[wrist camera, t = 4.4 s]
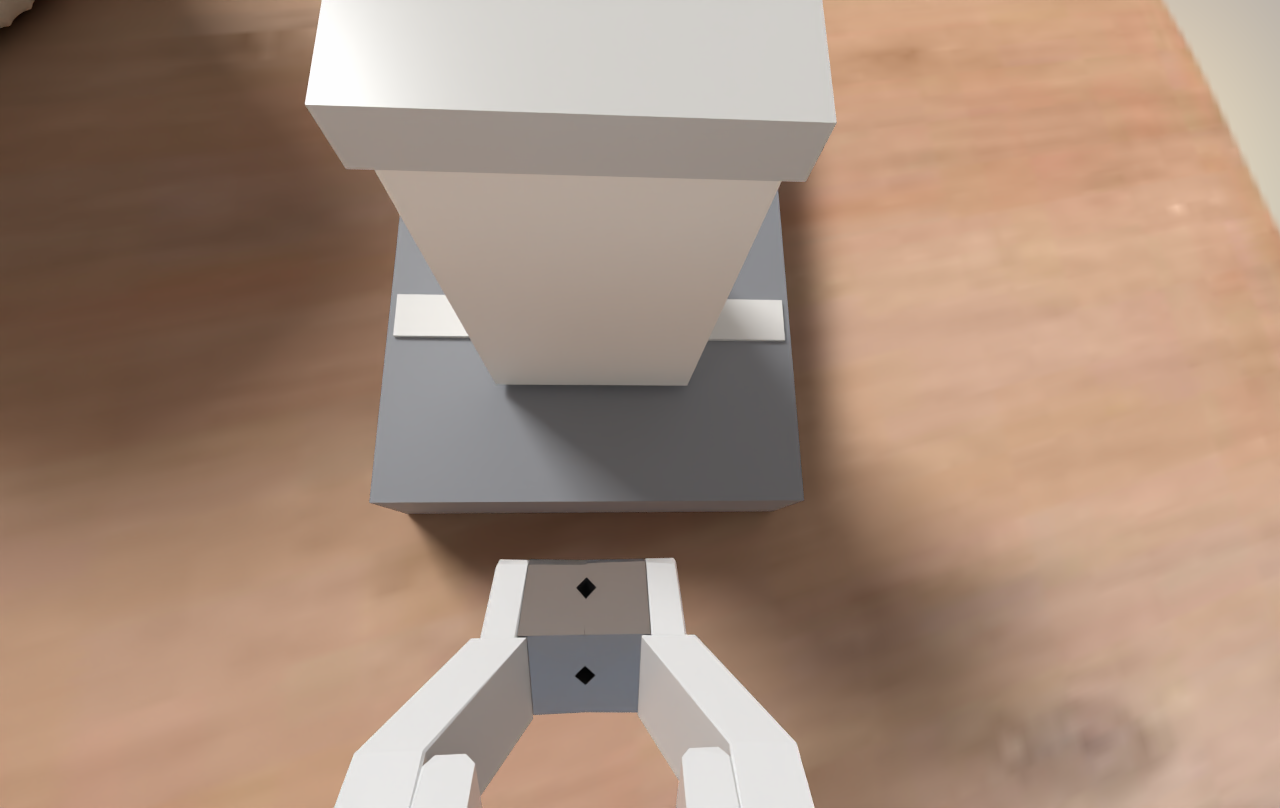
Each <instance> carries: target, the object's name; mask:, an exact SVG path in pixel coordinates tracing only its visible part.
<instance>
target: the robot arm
mask: <svg viewBox="0 0 1280 808" xmlns="http://www.w3.org/2000/svg"><path fill="white" fill-rule="evenodd" d="M579 712H638V716H639V718H640V720H641V721H642V723H643V724H644V726H645V727H646V729H647V731H648V732H649V734H650V735H651V737H652V739H653V740H654V742H655V743H656V745H657V747H658V748H659V750H660V751H661V753H662V754H663V756H664V758H665V759H666V761H667V762H668V764H669V766H670V767H671V769H672V770H673V772H674V774H675V775H676V777H677V778H678V780H679V785H678V793H677V801H676V808H815V807H814V804H813V800H812V797H811V793H810V790H809V786H808V782H807V779H806V775H805V772H804V768H803V765H802V761H801V757H800V754H799V750H798V747H797V743H796V742H795V741H794V740H793V739H792V738H791V737H790V735H789V734H788V733H787V732H786V731H785V730H784V729H783V728H782V727H781V726H780V725H779V724H778V723H777V722H776V720H775V719H774V718H773V717H772V716H771V715H770V714H769V713H768V712H767V711H766V710H765V709H764V708H763V707H762V706H761V704H760V703H759V702H758V701H757V700H756V699H755V698H754V697H753V696H752V695H751V694H750V693H749V692H748V691H747V689H746V688H745V687H744V686H743V685H742V684H741V683H740V682H739V681H738V680H737V679H736V678H735V677H734V676H733V674H732V673H731V672H730V671H729V670H728V669H727V668H726V667H725V666H724V665H723V664H722V663H721V662H720V661H719V659H718V658H717V657H716V656H715V655H714V654H713V653H712V652H711V651H710V650H709V649H708V648H707V647H706V646H705V644H704V643H703V642H702V641H701V640H700V639H699V638H698V637H697V636H696V635H687V634H686V627H685V620H684V614H683V607H682V600H681V593H680V586H679V579H678V572H677V565H676V561H675V560H674V558H645V560H644V559H600V560H548V559H530V560H507V559H500V560H499V562H498V564H497V566H496V569H495V574H494V578H493V583H492V587H491V592H490V596H489V601H488V605H487V610H486V614H485V619H484V623H483V628H482V632H481V637H480V638H472V639H470V640H469V641H468V642H467V643H466V644H465V645H464V646H463V647H462V648H461V649H460V650H459V651H458V652H457V653H456V654H455V655H454V656H453V657H452V658H451V659H450V660H449V661H448V662H447V663H446V664H445V665H444V666H443V667H442V668H441V669H440V670H439V671H438V672H437V673H436V674H435V675H434V676H433V677H432V678H431V679H430V680H428V681H427V682H426V683H425V684H424V685H423V686H422V687H421V688H420V689H419V690H418V691H417V692H416V693H415V694H414V695H413V696H412V697H411V698H410V699H409V700H408V701H407V702H406V703H405V704H404V705H403V706H402V707H401V708H400V709H399V710H398V711H397V712H396V713H395V714H394V715H393V716H392V717H391V718H390V719H389V720H388V721H387V722H386V723H385V724H384V725H383V726H382V727H381V728H380V729H379V730H378V731H377V732H376V733H375V734H374V735H373V736H372V737H371V738H370V739H369V740H368V741H367V742H366V743H365V744H364V745H363V746H362V747H361V748H360V749H359V750H358V751H357V752H356V753H355V754H354V755H353V758H352V761H351V763H350V766H349V769H348V772H347V774H346V777H345V780H344V782H343V785H342V788H341V790H340V793H339V796H338V799H337V801H336V804H335V807H334V808H482V802H481V795H482V793H483V792H484V790H485V789H486V787H487V786H488V784H489V783H490V781H491V780H492V778H493V777H494V775H495V774H496V772H497V771H498V770H499V768H500V767H501V765H502V764H503V762H504V761H505V759H506V758H507V756H508V755H509V753H510V752H511V750H512V749H513V747H514V746H515V744H516V743H517V741H518V740H519V739H520V737H521V736H522V734H523V733H524V731H525V730H526V728H527V727H528V725H529V724H530V722H531V721H532V719H533V715H542V714H561V713H579Z"/></svg>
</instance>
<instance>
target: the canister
mask: <svg viewBox="0 0 1280 808" xmlns="http://www.w3.org/2000/svg"><path fill="white" fill-rule="evenodd" d="M34 1H35V0H0V28H2V27H5V26H10V25H11V24H12V21H13V20H14V19H15V18H16V17H17V16H18V15H19V14H21V13H22V12H24V11H27V10H30V9H31V8H32V4H33V2H34Z"/></svg>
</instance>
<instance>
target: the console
mask: <svg viewBox="0 0 1280 808" xmlns="http://www.w3.org/2000/svg"><path fill="white" fill-rule="evenodd" d="M801 501H804V493H803V481H802V469H801V457H800V445H799V433H798V421H797V409H796V397H795V385H794V373H793V362H792V350H791V338H790V326H789V314H788V302H787V290H786V278H785V266H784V254H783V242H782V230H781V218H780V206H779V194H778V190H777V192H776V194H775V197H774V199H773V201H772V203H771V205H770V207H769V210H768V212H767V214H766V216H765V218H764V220H763V222H762V225H761V227H760V229H759V231H758V233H757V235H756V238H755V240H754V242H753V244H752V246H751V248H750V251H749V253H748V255H747V257H746V259H745V261H744V264H743V266H742V268H741V270H740V272H739V274H738V277H737V279H736V281H735V283H734V285H733V287H732V290H731V292H730V294H729V296H728V298H727V300H726V303H725V305H724V307H723V309H722V311H721V313H720V316H719V318H718V320H717V322H716V324H715V326H714V329H713V331H712V333H711V335H710V337H709V339H708V342H707V344H706V346H705V348H704V350H703V352H702V355H701V357H700V359H699V361H698V363H697V365H696V368H695V370H694V372H693V374H692V376H691V378H690V381H689V383H688V385H687V386H661V385H507V384H495V382H494V380H493V378H492V377H491V375H490V373H489V371H488V370H487V368H486V366H485V364H484V363H483V361H482V359H481V357H480V355H479V354H478V352H477V350H476V348H475V347H474V345H473V343H472V341H471V340H470V338H469V336H468V334H467V333H466V331H465V329H464V327H463V325H462V324H461V322H460V320H459V318H458V317H457V315H456V313H455V311H454V310H453V308H452V306H451V304H450V303H449V301H448V299H447V297H446V296H445V294H444V292H443V290H442V288H441V287H440V285H439V283H438V281H437V280H436V278H435V276H434V274H433V273H432V271H431V269H430V267H429V266H428V264H427V262H426V260H425V259H424V257H423V255H422V253H421V251H420V250H419V248H418V246H417V244H416V243H415V241H414V239H413V237H412V236H411V234H410V232H409V230H408V229H407V227H406V225H405V223H404V222H403V220H402V218H401V216H400V219H399V228H398V238H397V247H396V256H395V266H394V275H393V285H392V294H391V304H390V313H389V322H388V332H387V341H386V351H385V360H384V370H383V379H382V388H381V398H380V407H379V417H378V426H377V436H376V445H375V454H374V464H373V473H372V483H371V492H370V501H369V503H372V504H376V505H379V506H382V507H386V508H389V509H393V510H396V511H400V512H403V513H406V514H431V513H584V512H737V511H775V510H778V509H781V508H783V507H786V506H789V505H792V504H795V503H798V502H801Z"/></svg>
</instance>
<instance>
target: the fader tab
mask: <svg viewBox="0 0 1280 808" xmlns="http://www.w3.org/2000/svg"><path fill="white" fill-rule="evenodd" d="M305 106H306V107H307V109H308V110H309V112H310V113H311V115H312V117H313V118H314V120H315V121H316V123H317V124H318V126H319V128H320V129H321V131H322V132H323V134H324V135H325V137H326V139H327V140H328V142H329V143H330V145H331V146H332V148H333V150H334V151H335V153H336V154H337V156H338V157H339V159H340V161H341V162H342V164H343V165H344V167H345V168H346V169H362V170H375V172H376V174H377V176H378V177H379V179H380V181H381V183H382V184H383V186H384V188H385V190H386V192H387V193H388V195H389V197H390V199H391V200H392V202H393V204H394V206H395V207H396V209H397V211H398V213H399V214H400V216H401V218H402V220H403V222H404V223H405V225H406V227H407V229H408V230H409V232H410V234H411V236H412V237H413V239H414V241H415V243H416V244H417V246H418V248H419V250H420V251H421V253H422V255H423V257H424V259H425V260H426V262H427V264H428V266H429V267H430V269H431V271H432V273H433V274H434V276H435V278H436V280H437V281H438V283H439V285H440V287H441V288H442V290H443V292H444V294H445V296H446V297H447V299H448V301H449V303H450V304H451V306H452V308H453V310H454V311H455V313H456V315H457V317H458V318H459V320H460V322H461V324H462V325H463V327H464V329H465V331H466V333H467V334H468V336H469V338H470V340H471V341H472V343H473V345H474V347H475V348H476V350H477V352H478V354H479V355H480V357H481V359H482V361H483V363H484V364H485V366H486V368H487V370H488V371H489V373H490V375H491V377H492V378H493V380H494V382H495V384H507V385H661V386H687V385H688V383H689V381H690V378H691V376H692V374H693V372H694V370H695V368H696V365H697V363H698V361H699V359H700V357H701V355H702V352H703V350H704V348H705V346H706V344H707V342H708V339H709V337H710V335H711V333H712V331H713V329H714V326H715V324H716V322H717V320H718V318H719V316H720V313H721V311H722V309H723V307H724V305H725V303H726V300H727V298H728V296H729V294H730V292H731V290H732V287H733V285H734V283H735V281H736V279H737V277H738V274H739V272H740V270H741V268H742V266H743V264H744V261H745V259H746V257H747V255H748V253H749V251H750V248H751V246H752V244H753V242H754V240H755V238H756V235H757V233H758V231H759V229H760V227H761V225H762V222H763V220H764V218H765V216H766V214H767V212H768V210H769V207H770V205H771V203H772V201H773V199H774V197H775V194H776V192H777V190H778V188H779V186H780V184H781V181H791V182H806V180H807V178H808V176H809V174H810V173H811V171H812V169H813V167H814V165H815V163H816V161H817V159H818V157H819V155H820V154H821V152H822V150H823V148H824V146H825V144H826V142H827V140H828V138H829V136H830V134H831V133H832V131H833V129H834V127H835V125H836V123H837V122H836V114H835V105H834V96H833V88H832V79H831V71H830V62H829V54H828V45H827V37H826V28H825V20H824V11H823V3H822V0H322V2H321V9H320V15H319V21H318V27H317V33H316V39H315V45H314V52H313V58H312V64H311V70H310V76H309V82H308V89H307V95H306V101H305Z"/></svg>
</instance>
